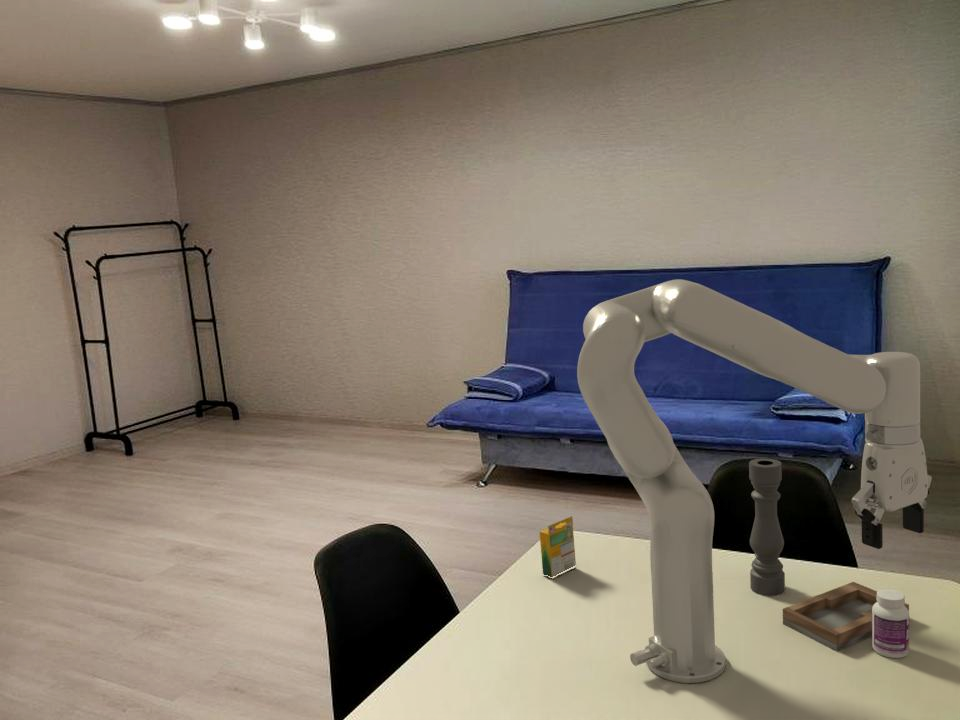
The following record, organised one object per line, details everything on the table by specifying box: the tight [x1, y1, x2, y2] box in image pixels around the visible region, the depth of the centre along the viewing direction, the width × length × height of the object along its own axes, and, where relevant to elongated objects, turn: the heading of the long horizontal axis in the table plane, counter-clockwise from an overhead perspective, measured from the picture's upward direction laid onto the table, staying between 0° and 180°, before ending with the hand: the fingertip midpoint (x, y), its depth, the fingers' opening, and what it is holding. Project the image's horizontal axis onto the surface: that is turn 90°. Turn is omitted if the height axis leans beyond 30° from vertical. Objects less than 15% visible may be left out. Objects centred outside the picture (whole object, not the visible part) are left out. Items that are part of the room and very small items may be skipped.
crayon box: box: [539, 515, 577, 577], centre depth 164 cm, size 7×3×12 cm, turn 130°
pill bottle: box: [871, 588, 910, 659], centre depth 126 cm, size 5×5×10 cm
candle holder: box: [748, 457, 786, 597], centre depth 149 cm, size 6×6×25 cm
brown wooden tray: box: [782, 581, 910, 652], centre depth 136 cm, size 18×11×3 cm, turn 117°
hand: (892, 538), depth 124 cm, fingers open, 9 cm apart
